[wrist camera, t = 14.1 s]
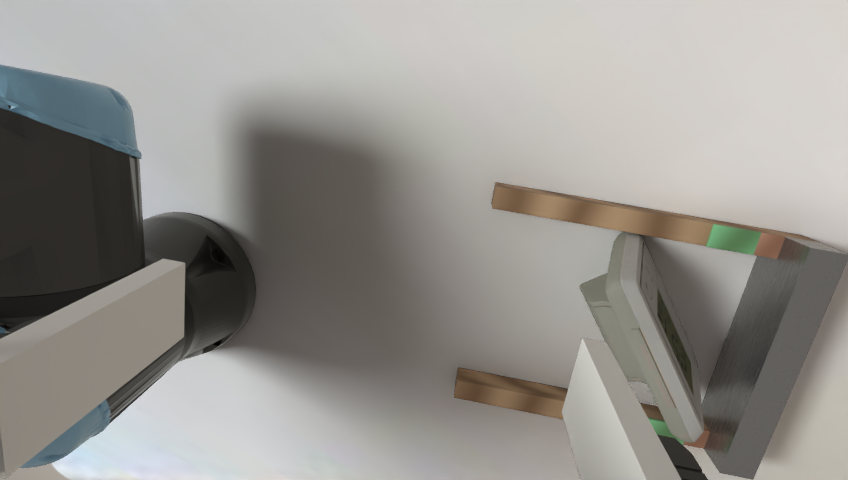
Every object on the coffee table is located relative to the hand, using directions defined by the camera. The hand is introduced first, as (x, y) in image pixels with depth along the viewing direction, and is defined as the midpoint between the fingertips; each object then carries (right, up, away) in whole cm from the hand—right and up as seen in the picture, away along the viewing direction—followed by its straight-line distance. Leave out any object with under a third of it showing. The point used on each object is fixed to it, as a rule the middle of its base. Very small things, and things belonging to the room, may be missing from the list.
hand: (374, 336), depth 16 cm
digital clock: (+22, -3, +32) cm, 39 cm away
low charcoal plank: (+33, -7, +31) cm, 46 cm away
